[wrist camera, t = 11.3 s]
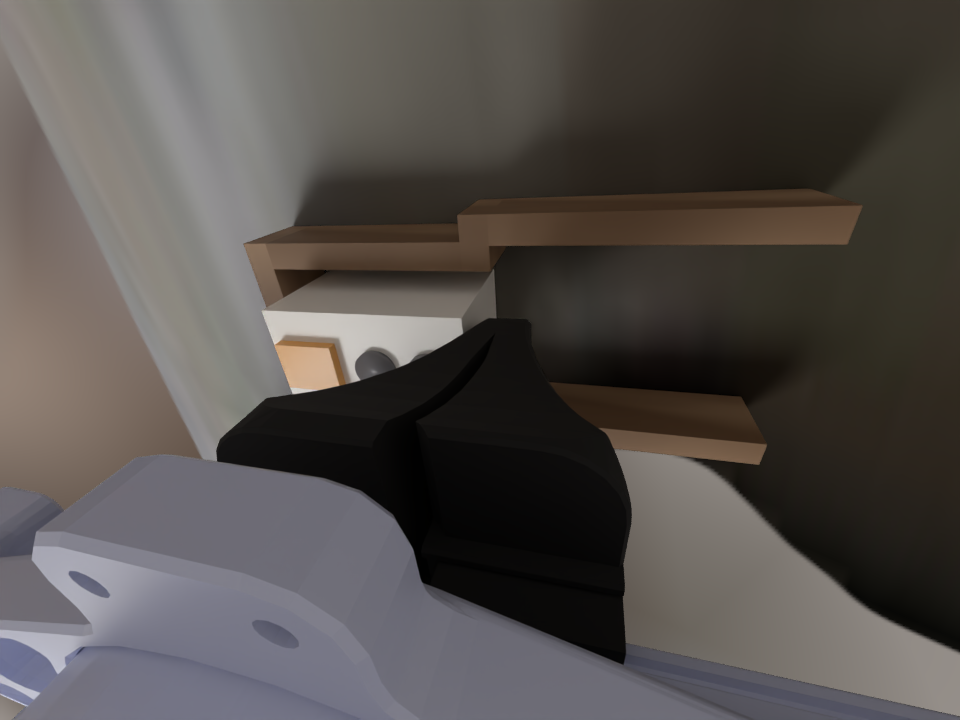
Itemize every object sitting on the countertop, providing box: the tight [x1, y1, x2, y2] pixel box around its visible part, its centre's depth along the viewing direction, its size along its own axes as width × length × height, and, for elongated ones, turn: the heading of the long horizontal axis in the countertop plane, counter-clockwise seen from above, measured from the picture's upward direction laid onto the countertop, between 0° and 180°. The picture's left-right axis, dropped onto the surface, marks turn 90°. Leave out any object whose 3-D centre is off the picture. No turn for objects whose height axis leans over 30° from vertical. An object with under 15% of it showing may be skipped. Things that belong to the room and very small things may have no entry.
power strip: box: [262, 269, 497, 394], centre depth 13 cm, size 3×6×4 cm, turn 95°
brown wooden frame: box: [244, 189, 863, 465], centre depth 13 cm, size 7×16×2 cm, turn 94°
